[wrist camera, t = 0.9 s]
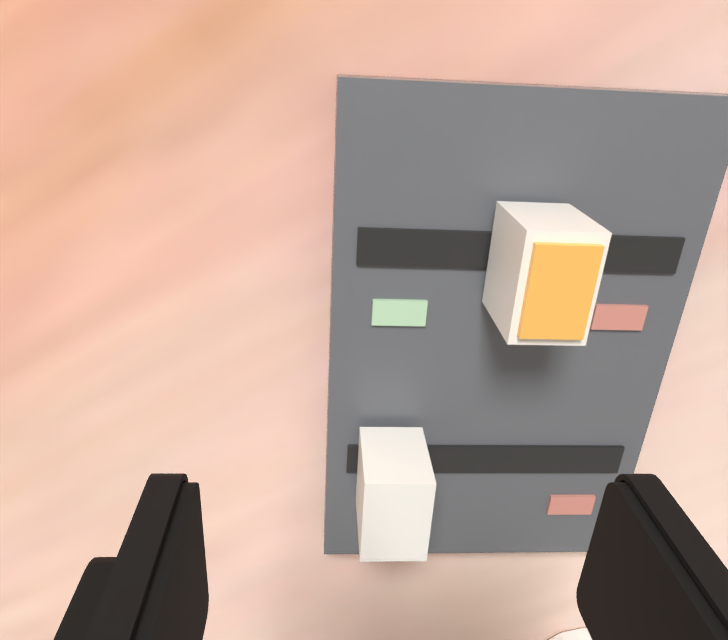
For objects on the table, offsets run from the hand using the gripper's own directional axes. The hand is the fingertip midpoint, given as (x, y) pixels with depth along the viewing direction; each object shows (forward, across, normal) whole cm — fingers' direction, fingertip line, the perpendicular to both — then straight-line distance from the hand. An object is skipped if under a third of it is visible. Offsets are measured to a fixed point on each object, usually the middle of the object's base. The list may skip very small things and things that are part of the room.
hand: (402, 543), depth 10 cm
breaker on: (+16, -2, +11) cm, 19 cm away
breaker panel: (+18, -7, +6) cm, 20 cm away
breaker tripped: (+16, -7, 0) cm, 17 cm away
